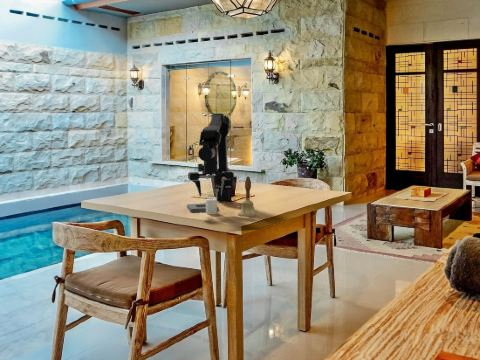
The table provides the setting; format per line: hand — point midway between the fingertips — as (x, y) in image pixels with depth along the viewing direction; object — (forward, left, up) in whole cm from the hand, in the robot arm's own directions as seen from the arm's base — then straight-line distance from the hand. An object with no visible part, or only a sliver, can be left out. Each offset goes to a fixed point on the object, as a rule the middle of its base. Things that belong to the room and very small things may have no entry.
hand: (211, 195), depth 219 cm
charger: (0, 0, -8) cm, 8 cm away
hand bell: (-14, +7, -8) cm, 17 cm away
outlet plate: (+2, -10, -7) cm, 13 cm away
